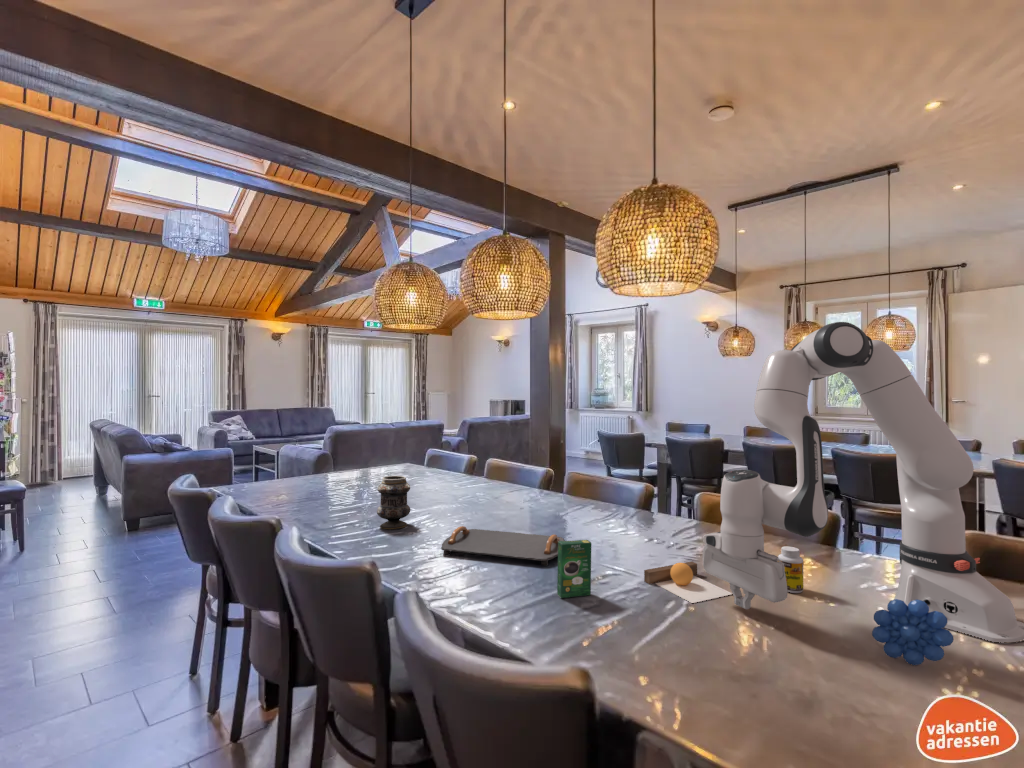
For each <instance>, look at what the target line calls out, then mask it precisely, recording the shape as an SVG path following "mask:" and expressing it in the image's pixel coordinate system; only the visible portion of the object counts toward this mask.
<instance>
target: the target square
mask: <svg viewBox="0 0 1024 768" xmlns="http://www.w3.org/2000/svg"><path fill="white" fill-rule="evenodd" d="M654 584H655V585H656V586H658V587H660V588H661V589H663V590H665V591H668V592H669V593H671V594H673V595H675V596H676V597H678V596H679V597H678V598H680V597H681V598H680V599H682V600H684V599H685V600H684V601H686V600H687V601H686V602H688V601H689V602H688V603H689V604H691V603H694V604H698V603H702V601H703V602H706V600H707V601H711V599H712V600H716V599H720V598H719V597H721V598H724V596H725V597H729V596H728V595H730V596H733V595H732V594H733V593H732V591H728V590H726V589H724V588H722V587H720V586H717V585H715V584H714V583H711V582H709V581H706V580H705V579H702V578H700V577H698V576H697V575H695V576H693V579H692V581H691V582H690V583H689V584H688V585H684V586H682V585H678V584H676V583H675V582H674V581H673V580H669V581H664V582H659V583H654ZM697 602H698V603H697Z"/></svg>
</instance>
